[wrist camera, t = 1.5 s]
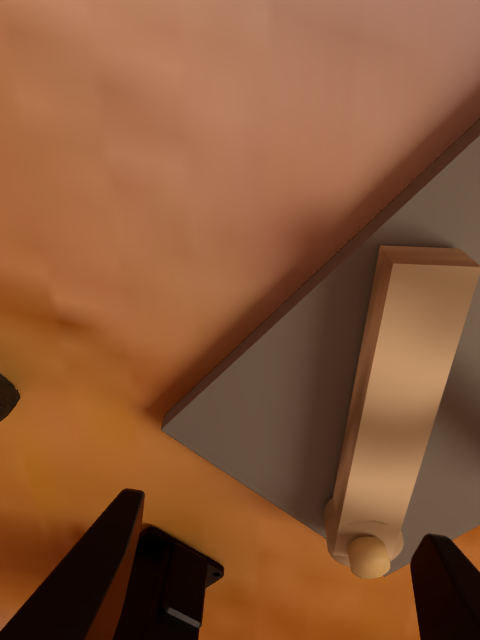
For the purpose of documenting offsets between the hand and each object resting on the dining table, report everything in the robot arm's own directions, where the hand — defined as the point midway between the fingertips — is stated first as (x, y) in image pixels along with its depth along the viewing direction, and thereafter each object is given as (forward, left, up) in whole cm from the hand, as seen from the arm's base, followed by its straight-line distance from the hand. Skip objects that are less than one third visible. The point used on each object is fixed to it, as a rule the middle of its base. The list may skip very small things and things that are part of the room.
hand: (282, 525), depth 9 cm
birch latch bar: (-2, -9, -12) cm, 15 cm away
